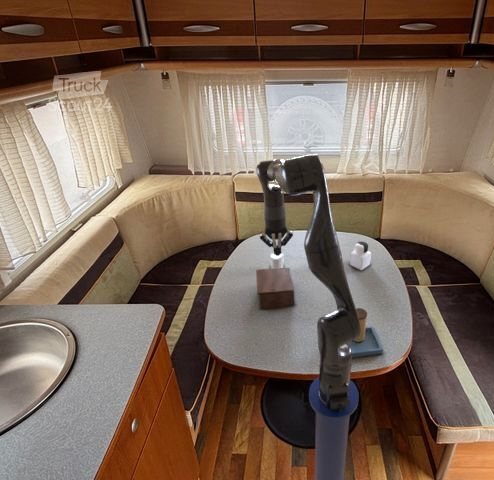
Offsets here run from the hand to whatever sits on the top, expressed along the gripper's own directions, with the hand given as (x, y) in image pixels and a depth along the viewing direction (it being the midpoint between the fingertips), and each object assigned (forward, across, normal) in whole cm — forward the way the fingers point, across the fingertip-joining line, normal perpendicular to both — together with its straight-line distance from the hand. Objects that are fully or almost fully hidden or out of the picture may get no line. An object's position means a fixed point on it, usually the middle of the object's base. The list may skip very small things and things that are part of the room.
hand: (277, 254), depth 137 cm
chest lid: (+17, +2, -6) cm, 18 cm away
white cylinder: (+25, -1, -26) cm, 36 cm away
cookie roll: (+24, -26, +24) cm, 43 cm away
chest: (+25, +1, -6) cm, 25 cm away
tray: (+25, -26, +26) cm, 44 cm away
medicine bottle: (+25, -41, -22) cm, 52 cm away
